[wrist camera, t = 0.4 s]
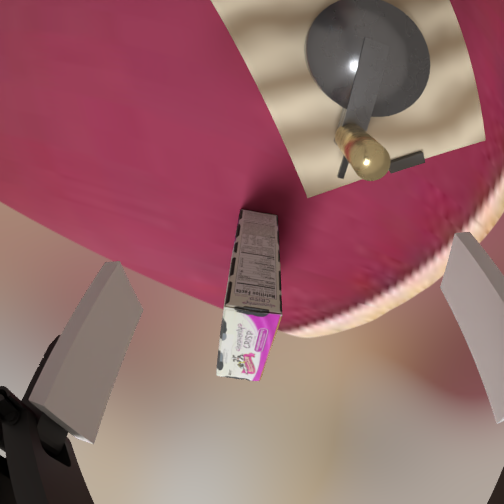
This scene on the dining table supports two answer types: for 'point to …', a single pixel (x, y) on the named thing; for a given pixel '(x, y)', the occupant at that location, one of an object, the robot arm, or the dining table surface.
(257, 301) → the candy bar box
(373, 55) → the grey round handled piece
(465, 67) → the stand
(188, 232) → the dining table surface
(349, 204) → the dining table surface
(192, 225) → the dining table surface
